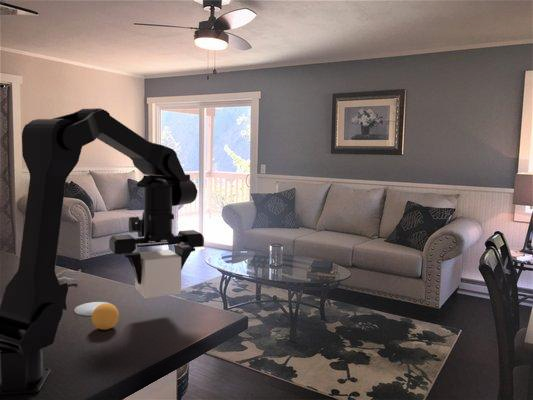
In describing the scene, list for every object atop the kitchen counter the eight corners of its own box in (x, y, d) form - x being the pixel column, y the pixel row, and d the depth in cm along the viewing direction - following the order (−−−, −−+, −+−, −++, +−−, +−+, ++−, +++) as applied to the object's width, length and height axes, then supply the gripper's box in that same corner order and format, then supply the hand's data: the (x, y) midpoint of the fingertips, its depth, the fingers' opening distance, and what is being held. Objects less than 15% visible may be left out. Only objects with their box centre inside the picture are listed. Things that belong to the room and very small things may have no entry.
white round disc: (110, 314, 93) (110, 313, 93) (70, 316, 91) (70, 315, 91) (115, 302, 100) (115, 301, 100) (78, 303, 99) (78, 302, 99)
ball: (117, 333, 84) (116, 308, 83) (89, 334, 83) (89, 309, 82) (120, 323, 88) (120, 299, 88) (94, 324, 87) (94, 300, 87)
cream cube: (180, 293, 91) (181, 256, 90) (145, 298, 87) (145, 260, 87) (169, 283, 98) (169, 249, 97) (135, 288, 94) (135, 252, 93)
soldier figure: (77, 288, 110) (25, 279, 105) (73, 298, 112) (21, 290, 107) (82, 263, 115) (33, 254, 110) (78, 274, 118) (29, 265, 113)
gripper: (186, 202, 102) (185, 267, 104) (103, 205, 93) (103, 276, 94) (205, 208, 93) (204, 279, 95) (115, 212, 83) (115, 291, 85)
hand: (157, 281), depth 92 cm, fingers closed on cream cube, 7 cm apart
